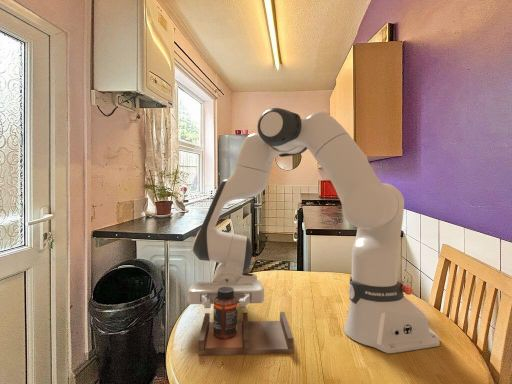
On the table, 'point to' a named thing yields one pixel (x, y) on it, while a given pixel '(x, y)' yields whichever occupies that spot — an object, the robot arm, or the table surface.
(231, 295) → the supplement bottle
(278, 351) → the slot rack
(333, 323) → the table surface
